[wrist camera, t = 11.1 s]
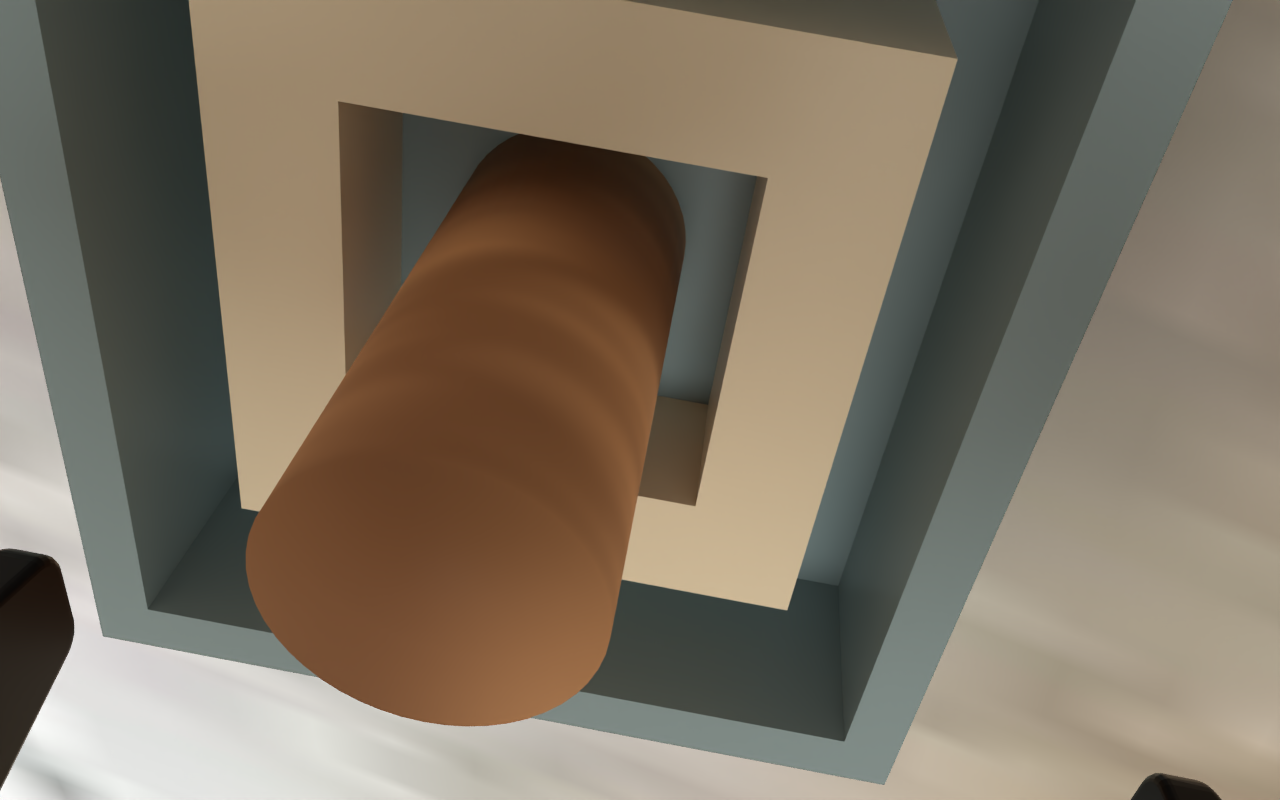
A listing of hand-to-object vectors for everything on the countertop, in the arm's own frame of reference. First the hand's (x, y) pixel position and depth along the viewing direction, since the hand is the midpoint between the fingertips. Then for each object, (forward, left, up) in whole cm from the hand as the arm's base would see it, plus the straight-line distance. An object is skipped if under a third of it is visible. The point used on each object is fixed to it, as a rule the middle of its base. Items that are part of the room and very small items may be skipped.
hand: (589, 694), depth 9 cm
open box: (+2, +2, -12) cm, 12 cm away
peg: (+2, +2, -11) cm, 11 cm away
